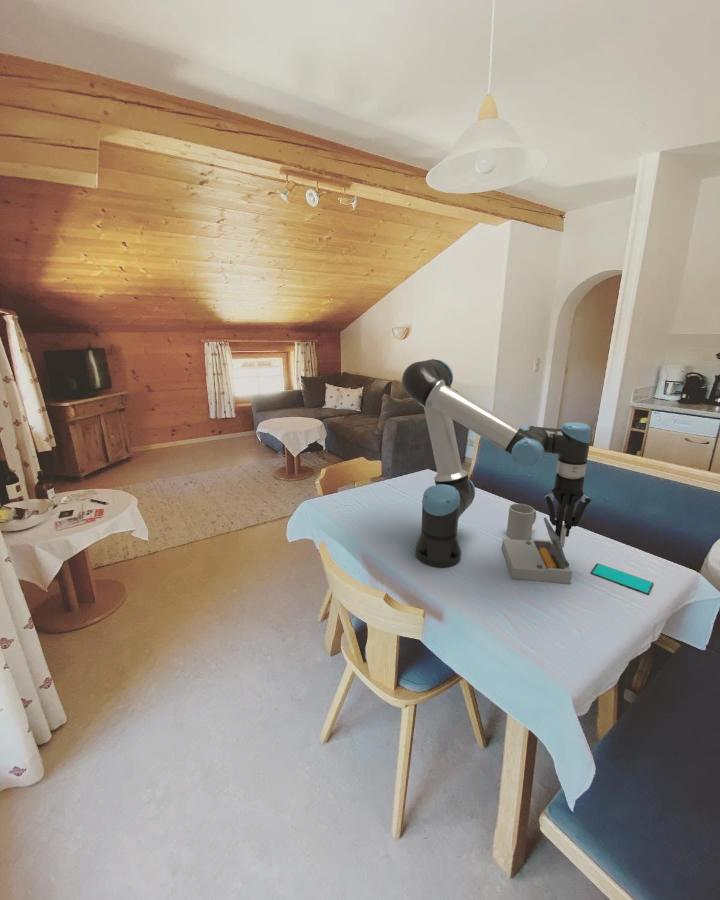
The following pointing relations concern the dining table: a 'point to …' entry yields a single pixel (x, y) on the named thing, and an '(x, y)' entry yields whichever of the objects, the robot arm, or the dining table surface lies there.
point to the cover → (555, 541)
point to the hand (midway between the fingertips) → (560, 544)
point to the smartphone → (622, 578)
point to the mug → (520, 521)
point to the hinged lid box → (534, 561)
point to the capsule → (547, 558)
